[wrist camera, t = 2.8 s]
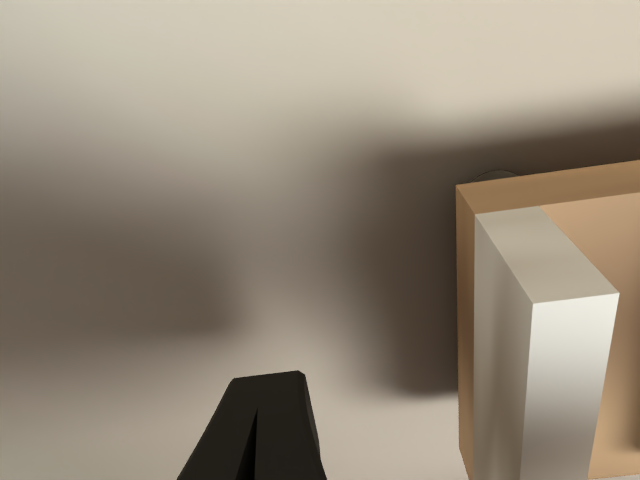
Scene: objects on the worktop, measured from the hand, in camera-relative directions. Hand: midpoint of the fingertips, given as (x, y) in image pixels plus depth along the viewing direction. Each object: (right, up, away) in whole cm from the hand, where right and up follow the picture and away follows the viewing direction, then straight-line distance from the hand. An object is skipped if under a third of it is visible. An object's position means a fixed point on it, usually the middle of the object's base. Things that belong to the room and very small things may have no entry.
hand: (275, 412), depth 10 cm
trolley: (+8, +3, +2) cm, 9 cm away
